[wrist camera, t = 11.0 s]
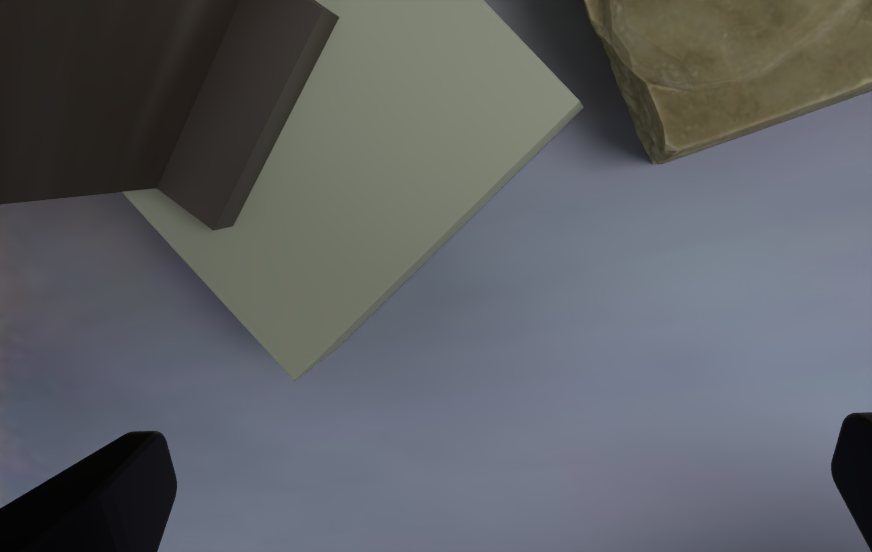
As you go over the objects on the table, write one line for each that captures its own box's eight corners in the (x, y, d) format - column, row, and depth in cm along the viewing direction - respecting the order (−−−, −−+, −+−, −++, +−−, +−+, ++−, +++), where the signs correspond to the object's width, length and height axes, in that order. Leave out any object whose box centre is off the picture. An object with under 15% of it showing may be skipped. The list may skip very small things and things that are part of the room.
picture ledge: (584, 107, 18) (577, 98, 14) (334, 350, 22) (278, 393, 18) (269, -223, 18) (181, -319, 14) (83, 76, 22) (-23, 63, 18)
